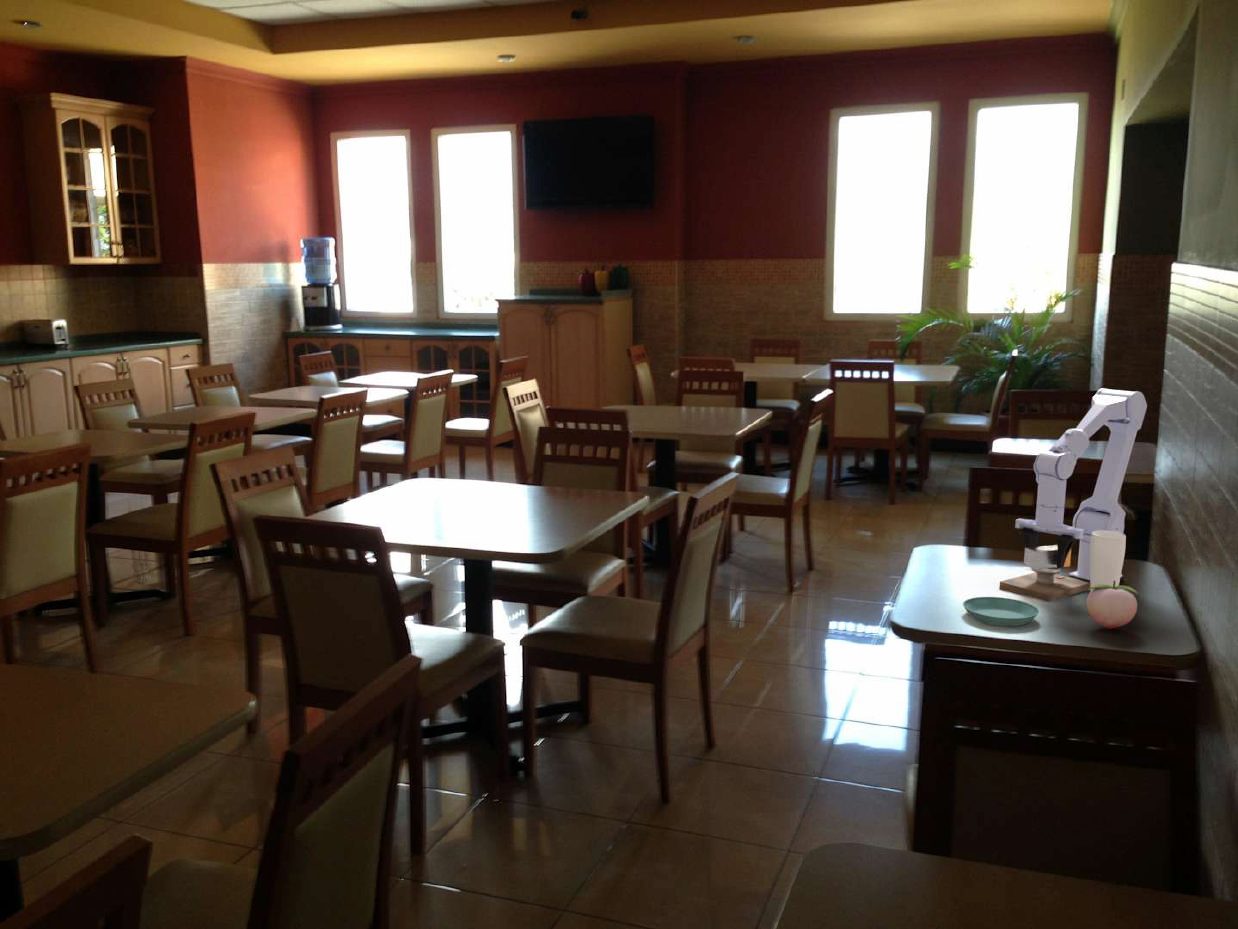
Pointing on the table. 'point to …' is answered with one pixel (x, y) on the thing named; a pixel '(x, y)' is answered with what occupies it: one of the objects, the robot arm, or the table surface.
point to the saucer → (1000, 611)
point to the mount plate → (1044, 586)
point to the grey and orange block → (1044, 559)
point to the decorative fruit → (1111, 604)
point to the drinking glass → (1106, 557)
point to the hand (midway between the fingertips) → (1045, 564)
